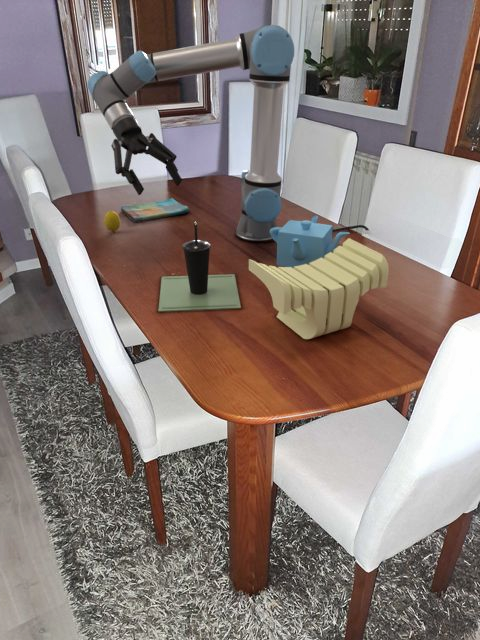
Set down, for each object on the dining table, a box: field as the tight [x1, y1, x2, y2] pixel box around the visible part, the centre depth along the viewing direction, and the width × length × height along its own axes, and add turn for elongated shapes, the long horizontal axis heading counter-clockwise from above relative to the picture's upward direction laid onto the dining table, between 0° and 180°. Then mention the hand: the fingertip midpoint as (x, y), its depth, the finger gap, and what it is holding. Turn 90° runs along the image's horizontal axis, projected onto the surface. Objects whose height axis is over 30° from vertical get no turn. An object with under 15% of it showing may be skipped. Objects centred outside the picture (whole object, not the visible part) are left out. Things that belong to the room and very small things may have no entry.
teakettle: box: [270, 214, 351, 269], centre depth 161 cm, size 19×19×15 cm
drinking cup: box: [182, 221, 212, 295], centre depth 144 cm, size 8×8×20 cm
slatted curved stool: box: [248, 237, 390, 340], centre depth 129 cm, size 30×16×18 cm, turn 119°
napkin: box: [157, 273, 242, 313], centre depth 149 cm, size 22×22×1 cm
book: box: [120, 197, 191, 223], centre depth 210 cm, size 17×23×2 cm
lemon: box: [103, 210, 121, 233], centre depth 189 cm, size 6×6×8 cm
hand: (160, 187), depth 149 cm, fingers open, 13 cm apart
